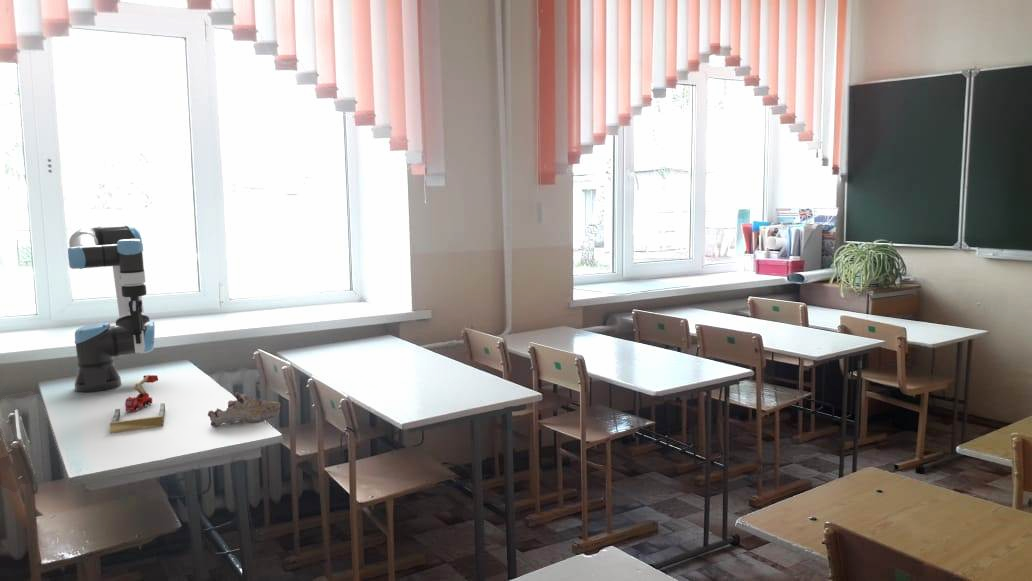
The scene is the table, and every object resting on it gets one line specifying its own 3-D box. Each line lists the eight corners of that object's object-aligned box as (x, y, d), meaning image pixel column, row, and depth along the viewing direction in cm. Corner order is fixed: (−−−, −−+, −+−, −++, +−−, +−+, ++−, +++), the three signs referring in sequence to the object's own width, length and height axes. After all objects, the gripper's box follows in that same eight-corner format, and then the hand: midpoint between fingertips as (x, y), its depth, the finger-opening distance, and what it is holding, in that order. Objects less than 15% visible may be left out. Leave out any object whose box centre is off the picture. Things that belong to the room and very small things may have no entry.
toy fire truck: (124, 412, 253) (121, 384, 252) (151, 400, 266) (149, 373, 265) (133, 413, 252) (130, 384, 251) (160, 401, 266) (157, 373, 264)
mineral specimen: (215, 416, 228) (212, 387, 233) (207, 433, 234) (204, 405, 239) (284, 414, 240) (279, 387, 245) (274, 430, 246) (270, 403, 251)
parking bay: (116, 416, 249) (115, 407, 248) (165, 410, 254) (164, 401, 254) (110, 433, 232) (109, 423, 232) (163, 426, 238) (162, 416, 237)
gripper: (123, 282, 271) (130, 347, 275) (118, 288, 255) (126, 357, 258) (147, 280, 274) (153, 344, 277) (143, 286, 258) (150, 354, 261)
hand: (140, 350), depth 268 cm, fingers open, 5 cm apart
